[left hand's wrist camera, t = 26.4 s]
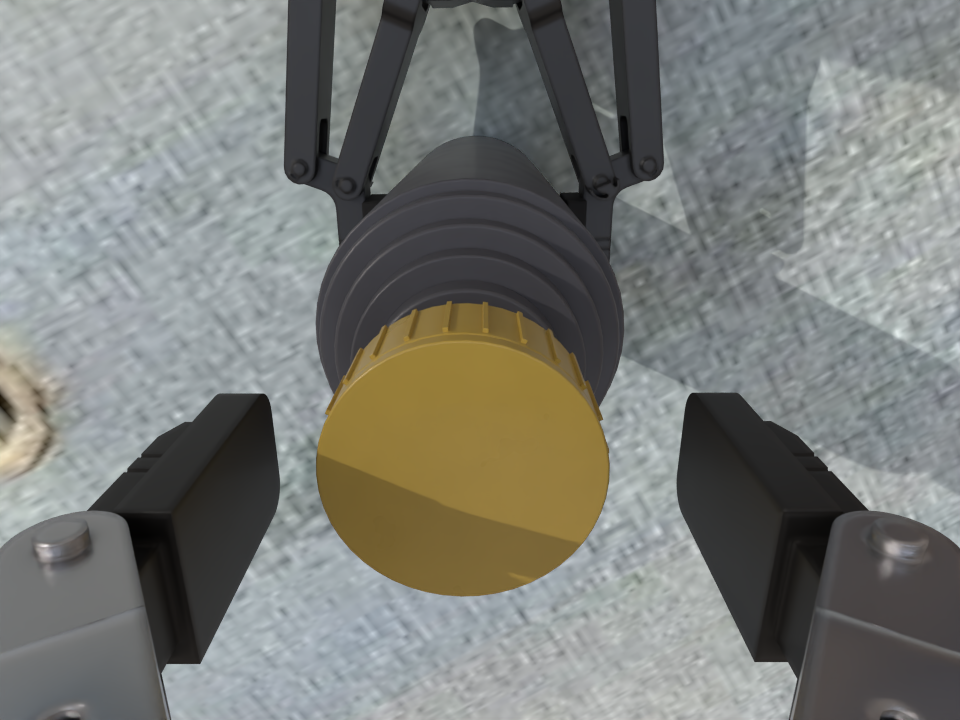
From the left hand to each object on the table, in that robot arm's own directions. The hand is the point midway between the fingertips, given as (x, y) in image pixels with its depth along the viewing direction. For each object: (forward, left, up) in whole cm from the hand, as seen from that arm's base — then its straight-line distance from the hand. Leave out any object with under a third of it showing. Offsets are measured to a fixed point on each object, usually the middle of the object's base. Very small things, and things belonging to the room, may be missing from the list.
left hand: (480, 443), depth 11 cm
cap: (0, 0, +1) cm, 1 cm away
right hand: (-5, +1, -18) cm, 19 cm away
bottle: (0, 0, -25) cm, 25 cm away
